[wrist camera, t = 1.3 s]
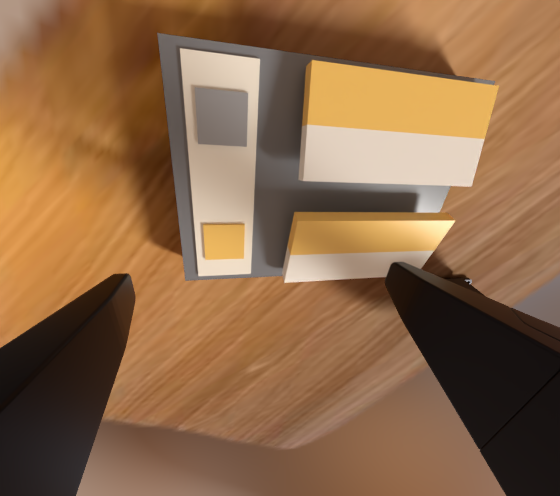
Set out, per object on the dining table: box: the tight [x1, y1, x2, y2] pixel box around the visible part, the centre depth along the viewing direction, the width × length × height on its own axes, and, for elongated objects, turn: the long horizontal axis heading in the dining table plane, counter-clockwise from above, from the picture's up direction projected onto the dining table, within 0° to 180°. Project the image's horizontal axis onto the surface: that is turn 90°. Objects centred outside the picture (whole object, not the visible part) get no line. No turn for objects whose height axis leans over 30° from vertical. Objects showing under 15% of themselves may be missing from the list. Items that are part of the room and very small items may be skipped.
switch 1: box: [298, 60, 499, 187], centre depth 16 cm, size 6×12×1 cm, turn 83°
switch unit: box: [157, 33, 495, 281], centre depth 20 cm, size 15×20×4 cm
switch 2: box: [282, 212, 455, 283], centre depth 20 cm, size 6×12×1 cm, turn 86°
